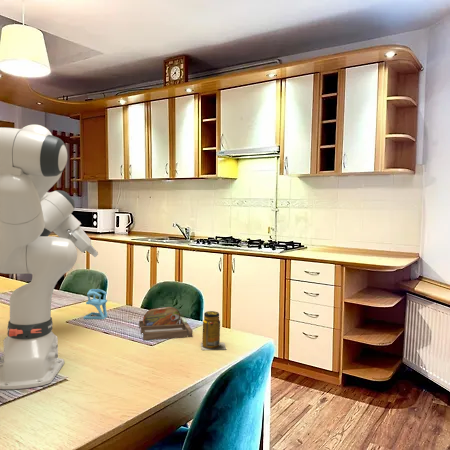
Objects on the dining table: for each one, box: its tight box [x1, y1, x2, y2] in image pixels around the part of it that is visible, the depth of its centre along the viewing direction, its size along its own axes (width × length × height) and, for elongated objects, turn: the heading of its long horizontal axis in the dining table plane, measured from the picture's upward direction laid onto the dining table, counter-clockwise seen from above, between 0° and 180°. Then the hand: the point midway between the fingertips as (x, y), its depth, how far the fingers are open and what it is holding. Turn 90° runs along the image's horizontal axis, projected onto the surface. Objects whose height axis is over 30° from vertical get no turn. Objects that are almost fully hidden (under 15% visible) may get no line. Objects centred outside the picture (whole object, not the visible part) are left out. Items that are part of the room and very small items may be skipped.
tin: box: [142, 306, 181, 326], centre depth 165 cm, size 15×3×8 cm, turn 123°
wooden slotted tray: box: [138, 317, 194, 341], centre depth 162 cm, size 16×18×3 cm
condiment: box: [200, 310, 227, 351], centre depth 147 cm, size 7×8×12 cm
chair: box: [83, 288, 108, 320], centre depth 177 cm, size 8×8×12 cm
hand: (96, 255), depth 156 cm, fingers closed
